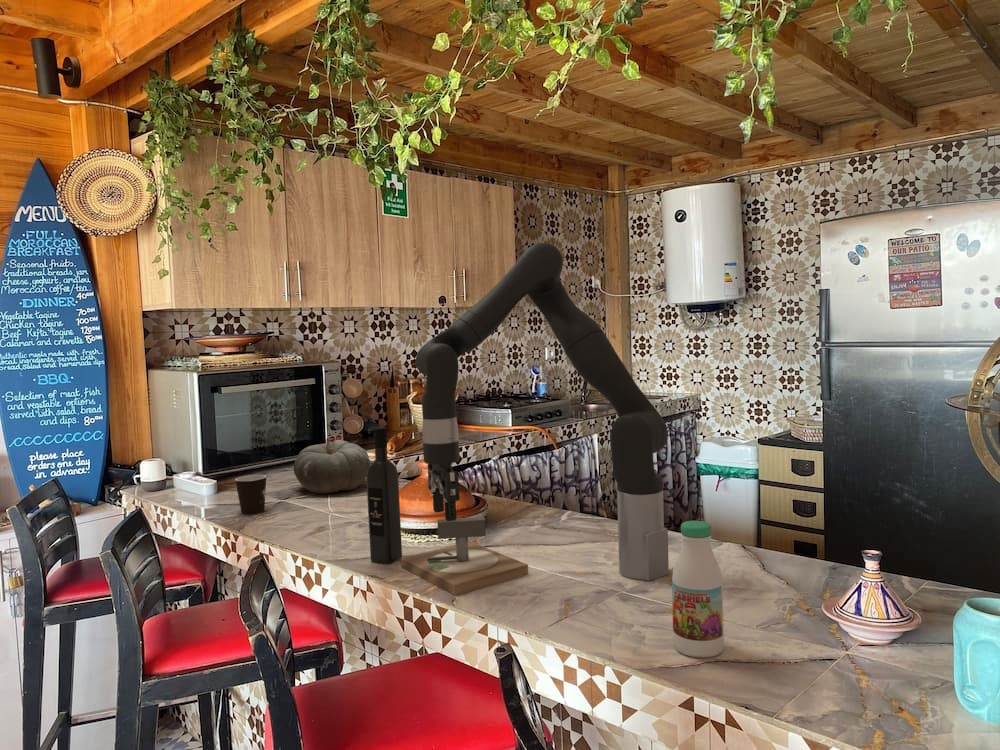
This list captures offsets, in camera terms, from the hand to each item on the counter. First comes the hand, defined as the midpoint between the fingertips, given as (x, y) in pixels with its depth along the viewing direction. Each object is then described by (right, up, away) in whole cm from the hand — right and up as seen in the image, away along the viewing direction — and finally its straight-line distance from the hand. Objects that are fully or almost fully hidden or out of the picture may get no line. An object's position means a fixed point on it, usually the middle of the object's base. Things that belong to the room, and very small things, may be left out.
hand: (444, 516), depth 154 cm
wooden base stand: (+4, -12, +3) cm, 13 cm away
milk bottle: (+43, -14, -38) cm, 59 cm away
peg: (+2, -10, +2) cm, 10 cm away
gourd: (-42, -8, +88) cm, 98 cm away
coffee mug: (-60, -11, +63) cm, 88 cm away
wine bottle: (-14, -12, +12) cm, 22 cm away
